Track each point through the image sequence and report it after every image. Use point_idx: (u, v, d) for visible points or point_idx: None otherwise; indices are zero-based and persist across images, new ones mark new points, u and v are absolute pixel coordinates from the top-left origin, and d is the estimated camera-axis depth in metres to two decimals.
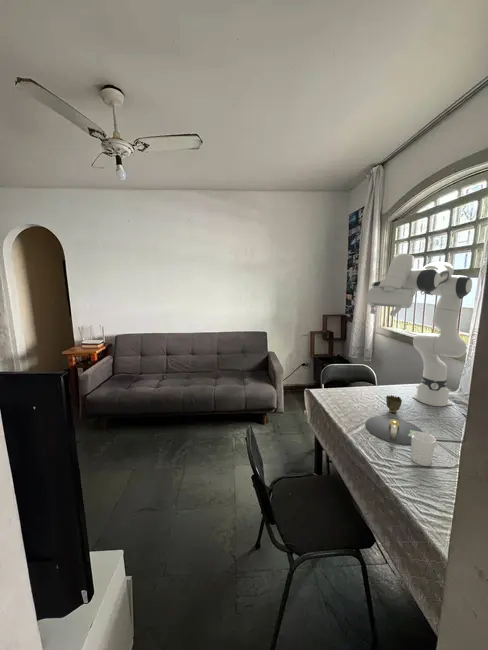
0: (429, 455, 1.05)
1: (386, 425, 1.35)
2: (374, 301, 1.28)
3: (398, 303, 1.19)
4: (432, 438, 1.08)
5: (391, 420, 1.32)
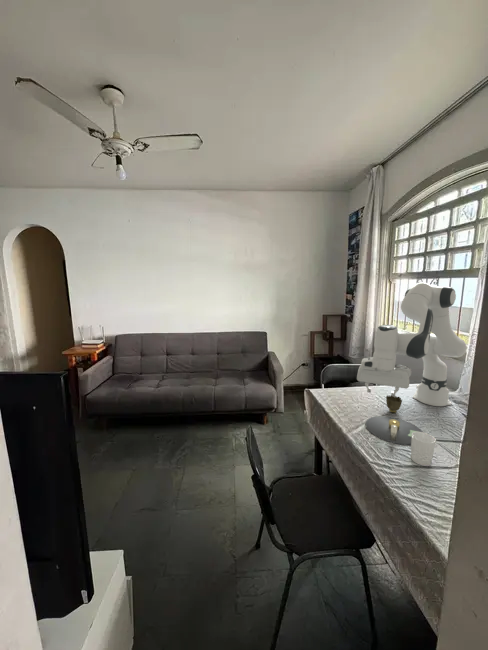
0: (429, 455, 1.05)
1: (386, 425, 1.35)
2: (369, 381, 1.21)
3: (399, 386, 1.17)
4: (432, 438, 1.08)
5: (391, 420, 1.32)
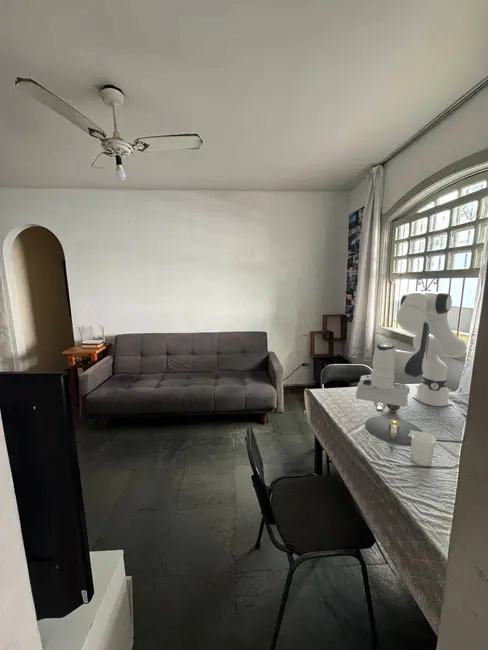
0: (429, 455, 1.05)
1: (386, 425, 1.35)
2: (368, 399, 1.22)
3: (397, 404, 1.18)
4: (432, 438, 1.08)
5: (391, 420, 1.32)
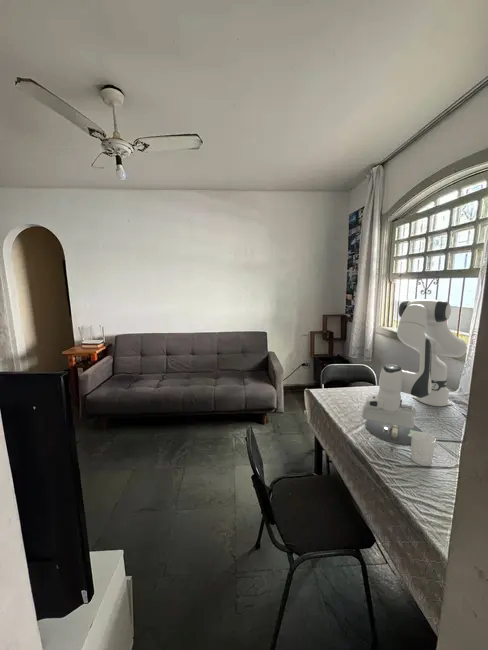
0: (429, 455, 1.05)
1: (386, 425, 1.35)
2: (375, 420, 1.23)
3: (403, 426, 1.18)
4: (432, 438, 1.08)
5: None
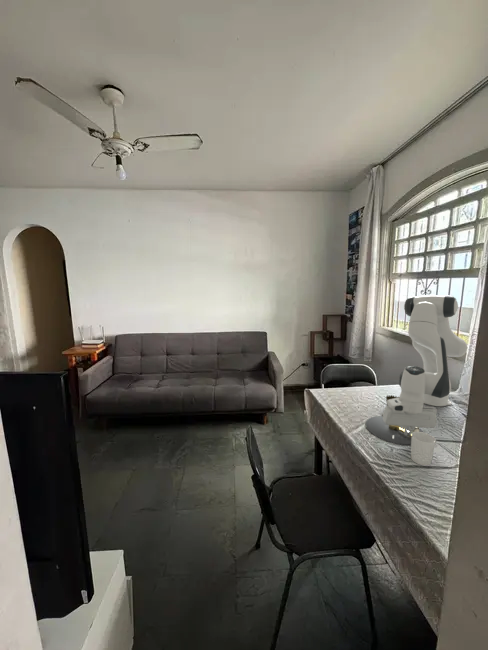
0: (429, 455, 1.05)
1: (386, 425, 1.35)
2: (398, 424, 1.19)
3: (426, 427, 1.18)
4: (432, 438, 1.08)
5: None
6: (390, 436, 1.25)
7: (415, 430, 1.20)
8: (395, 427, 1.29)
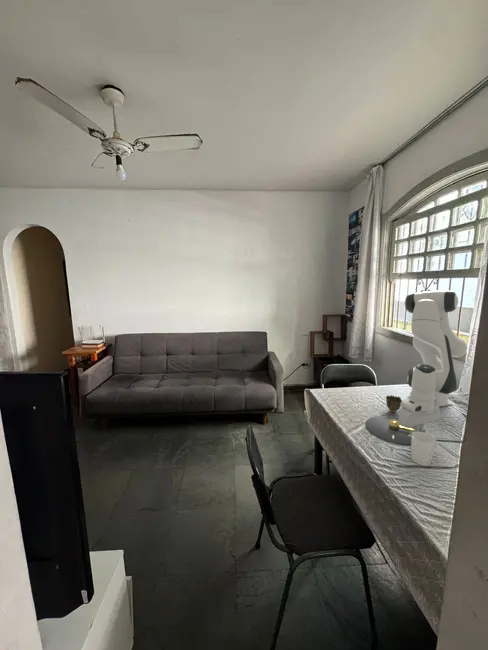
0: (429, 455, 1.05)
1: (386, 425, 1.35)
2: (415, 425, 1.19)
3: (433, 420, 1.23)
4: (432, 438, 1.08)
5: (392, 422, 1.30)
6: (390, 436, 1.25)
7: None
8: (398, 427, 1.29)
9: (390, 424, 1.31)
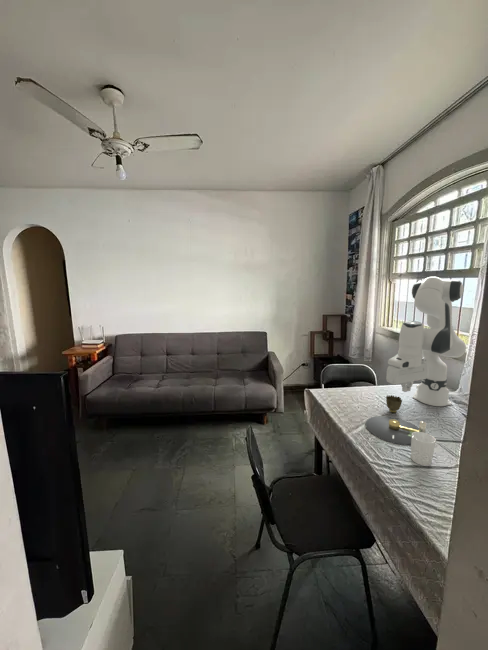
0: (429, 455, 1.05)
1: (386, 425, 1.35)
2: (402, 382, 1.16)
3: (421, 378, 1.20)
4: (432, 438, 1.08)
5: (392, 422, 1.30)
6: (390, 436, 1.25)
7: (424, 425, 1.23)
8: (398, 427, 1.29)
9: (390, 424, 1.31)
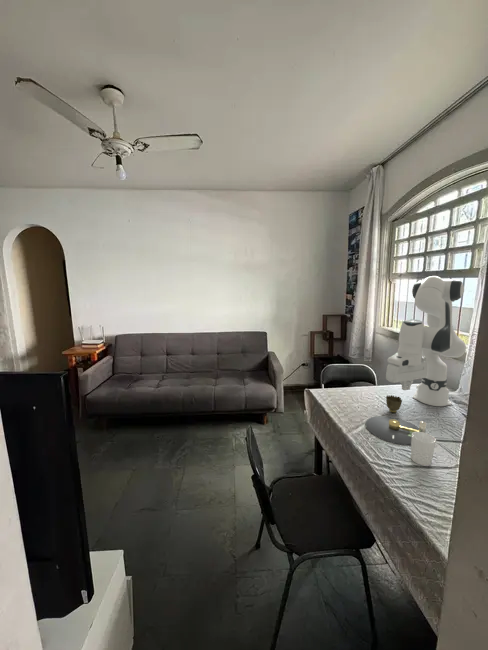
0: (429, 455, 1.05)
1: (386, 425, 1.35)
2: (402, 380, 1.16)
3: (421, 377, 1.20)
4: (432, 438, 1.08)
5: (392, 422, 1.30)
6: (390, 436, 1.25)
7: (424, 425, 1.23)
8: (398, 427, 1.29)
9: (390, 424, 1.31)
